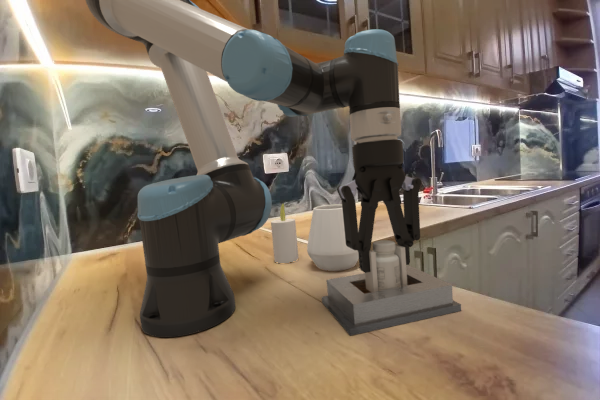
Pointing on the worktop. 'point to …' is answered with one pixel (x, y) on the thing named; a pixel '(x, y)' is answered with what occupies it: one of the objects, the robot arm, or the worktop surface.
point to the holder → (387, 301)
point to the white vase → (330, 240)
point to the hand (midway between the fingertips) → (386, 287)
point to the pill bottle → (387, 265)
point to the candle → (284, 239)
